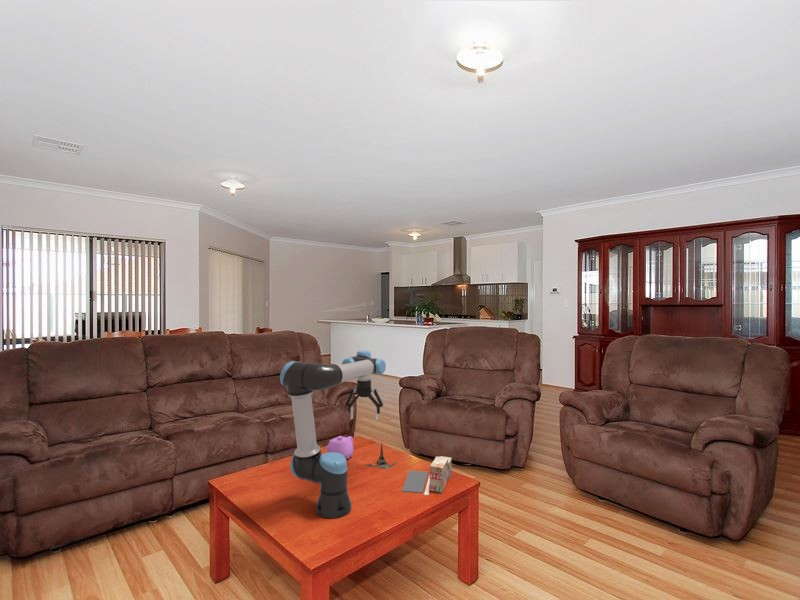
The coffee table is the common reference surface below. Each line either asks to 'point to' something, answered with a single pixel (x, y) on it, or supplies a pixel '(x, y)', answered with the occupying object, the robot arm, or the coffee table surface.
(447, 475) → the stack of blocks
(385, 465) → the eiffel tower figurine
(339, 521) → the coffee table surface
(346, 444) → the teapot
